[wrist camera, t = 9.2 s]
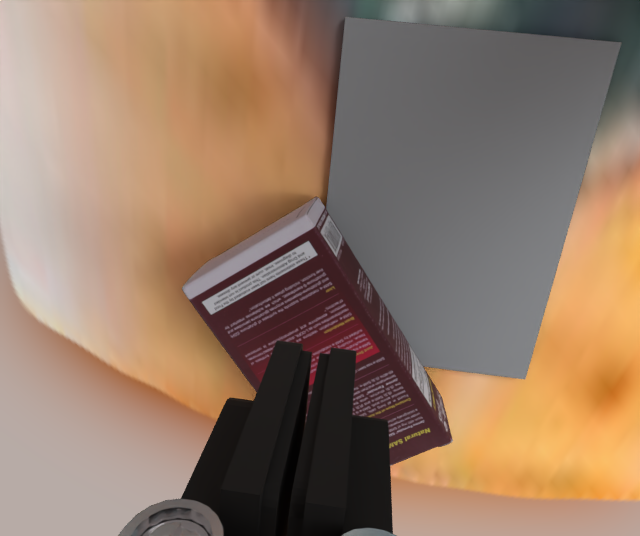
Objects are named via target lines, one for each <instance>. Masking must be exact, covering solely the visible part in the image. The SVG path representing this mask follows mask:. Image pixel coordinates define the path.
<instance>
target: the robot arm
mask: <svg viewBox="0 0 640 536" xmlns="http://www.w3.org/2000/svg"><path fill="white" fill-rule="evenodd" d="M356 352H357V351H355V350H347V349H339V348H332V347H331V350H330V354H324V353H320V355H319V360H318V365H317V369H316V374H315V379H314V384H313V389H312V394H311V399H310V404H309V409H308V414H307V419H306V413H307V402H308V392H309V381H310V371H311V360H312V352H309V351H303V344H301V343H294V342H286V341H279V340H277V341H276V344H275V346H274V349H273V352H272V354H271V357H270V360H269V362H268V365H267V367H266V370H265V373H264V375H263V378H262V381H261V383H260V386H259V389H258V391H257V394H256V397H255V399H254V401H251V400H244V399H237V398H229V399H227V401H226V403H225V405H224V407H223V409H222V411H221V413H220V416H219V418H218V420H217V422H216V425H215V426H214V428H213V431H212V433H211V435H210V437H209V440H208V441H207V444H206V446H205V448H204V450H203V452H202V454H201V457H200V459H199V461H198V463H197V465H196V467H195V470H194V472H193V474H192V476H191V478H190V480H189V483H188V485H187V487H186V489H185V491H184V493H183V495H182V498H181V499H175V500H166V501H163V502H160V503H157V504H154V505H151V506H149V507H148V508H146V509H145V510H143V511H141V512H140V513H138V514H137V515H136V516H135V517H134V518H133V519H132V520H131V521H130V522H129V523H128V524H127V525H126V526H125V527H124V529H123V530H122V531H121V532H120V534H119V535H118V536H396V535H394V534H393V531H392V530H393V528H392V504H391V476H390V450H389V426H388V420H386V419H379V418H372V417H364V416H357V415H352V411H353V397H354V382H355V367H356Z"/></svg>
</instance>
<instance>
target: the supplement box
mask: <svg viewBox="0 0 640 536" xmlns="http://www.w3.org/2000/svg"><path fill="white" fill-rule="evenodd" d="M182 290H183V292H184V293H185V295H186V296H187V298H188V299H189V301H190V302H191V303H192V304H193V306H194V308H195V309H196V310H197V312H198V313H199V314H200V316H201V317H202V318H203V320H204V321H205V323H206V324H207V326H208V327H209V328H210V329H211V331H212V332H213V334H214V335H215V336H216V338H217V339H218V340H219V342H220V343H221V345H222V346H223V347H224V348H225V350H226V351H227V353H228V354H229V355H230V356H231V358H232V359H233V361H234V362H235V363H236V365H237V366H238V368H239V369H240V370H241V372H242V373H243V374H244V376H245V377H246V378H247V380H248V381H249V382H250V384H251V385H252V386H253V388H254V389H255V390H256V392H257V391H258V389H259V386H260V383H261V381H262V378H263V375H264V373H265V370H266V367H267V365H268V362H269V360H270V357H271V354H272V352H273V349H274V346H275V344H276V341H277V340H279V341H286V342H294V343H301V344H303V351H309V352H312V360H311V371H310V381H309V392H308V402H307V413H306V419H307V414H308V409H309V404H310V399H311V394H312V389H313V384H314V379H315V374H316V369H317V365H318V360H319V355H320V353H324V354H330V350H331V347H332V348H339V349H347V350H355V351H357V352H356V367H355V382H354V397H353V411H352V415H357V416H364V417H372V418H379V419H386V420H388V426H389V450H390V466H391V465H393V464H396V463H398V462H400V461H403V460H406V459H408V458H410V457H413V456H415V455H418V454H420V453H422V452H425V451H427V450H430V449H432V448H435V447H442V446H445V445H447V444H450V443H451V442H452V441H453V440H452V436H451V433H450V428H449V424H448V420H447V416H446V412H445V408H444V404H443V400H442V397H441V395H440V393H439V392H438V390H437V388H436V387H435V385H434V384H433V382H432V380H431V379H430V377H429V375H428V374H427V372H426V371H425V369H424V367H423V366H422V364H421V363H420V361H419V359H418V358H417V356H416V354H415V353H414V351H413V349H412V348H411V346H410V345H409V343H408V341H407V340H406V338H405V336H404V334H403V333H402V331H401V330H400V328H399V327H398V325H397V323H396V322H395V320H394V319H393V317H392V315H391V314H390V312H389V310H388V309H387V307H386V306H385V304H384V302H383V301H382V299H381V298H380V296H379V294H378V293H377V291H376V289H375V288H374V286H373V284H372V283H371V281H370V280H369V278H368V276H367V275H366V273H365V272H364V270H363V268H362V267H361V265H360V263H359V262H358V260H357V259H356V257H355V255H354V254H353V252H352V250H351V249H350V247H349V246H348V244H347V242H346V241H345V239H344V237H343V236H342V234H341V232H340V231H339V229H338V228H337V226H336V224H335V223H334V221H333V219H332V218H331V216H330V215H329V213H328V211H327V210H326V208H325V206H324V205H323V203H322V202H321V200H320V199H319V198H318V197H315V198H313V199H312V200H310V201H308V202H307V203H306V204H304V205H303V206H301V207H299V208H297V209H296V210H294V211H292V212H291V213H289V214H287V215H286V216H284V217H282V218H281V219H279V220H277V221H275V222H274V223H272V224H270V225H269V226H267V227H265V228H264V229H262V230H260V231H259V232H257V233H255V234H254V235H252V236H250V237H249V238H247V239H245V240H244V241H242V242H240V243H239V244H237V245H235V246H234V247H232V248H230V249H229V250H227V251H225V252H224V253H222V254H220V255H219V256H217V257H214V258H212V259H211V260H209V261H207V262H206V263H205V264H204V265H203V266H202V267H201V268H200V269H199V270H197V271H196V272H195V273H194V274H193V275H192V276H191V277H190V278H189V280H188V281H187V282H186V283H185V284H184V286H183V287H182Z"/></svg>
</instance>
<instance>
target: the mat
mask: <svg viewBox="0 0 640 536" xmlns="http://www.w3.org/2000/svg"><path fill="white" fill-rule="evenodd" d="M621 43H622V42H611V41H600V40H589V39H579V38H568V37H557V36H546V35H536V34H525V33H514V32H503V31H493V30H482V29H471V28H460V27H449V26H439V25H428V24H417V23H406V22H396V21H385V20H374V19H363V18H353V17H345V25H344V35H343V45H342V55H341V65H340V75H339V85H338V95H337V105H336V115H335V125H334V135H333V145H332V155H331V165H330V175H329V185H328V195H327V205H326V210H327V211H328V213H329V215H330V216H331V218H332V219H333V221H334V223H335V224H336V226H337V228H338V229H339V231H340V232H341V234H342V236H343V237H344V239H345V241H346V242H347V244H348V246H349V247H350V249H351V250H352V252H353V254H354V255H355V257H356V259H357V260H358V262H359V263H360V265H361V267H362V268H363V270H364V272H365V273H366V275H367V276H368V278H369V280H370V281H371V283H372V284H373V286H374V288H375V289H376V291H377V293H378V294H379V296H380V298H381V299H382V301H383V302H384V304H385V306H386V307H387V309H388V310H389V312H390V314H391V315H392V317H393V319H394V320H395V322H396V323H397V325H398V327H399V328H400V330H401V331H402V333H403V334H404V336H405V338H406V340H407V341H408V343H409V345H410V346H411V348H412V349H413V351H414V353H415V354H416V356H417V358H418V359H419V361H420V363H421V364H422V366H423V367H431V368H439V369H447V370H455V371H463V372H471V373H479V374H487V375H495V376H503V377H510V378H518V379H525V378H526V375H527V371H528V368H529V364H530V361H531V357H532V354H533V350H534V347H535V343H536V340H537V336H538V333H539V329H540V326H541V322H542V319H543V315H544V312H545V308H546V305H547V301H548V298H549V294H550V291H551V287H552V284H553V280H554V277H555V273H556V270H557V266H558V263H559V259H560V256H561V252H562V249H563V245H564V242H565V238H566V235H567V232H568V228H569V225H570V221H571V218H572V214H573V211H574V207H575V204H576V200H577V197H578V193H579V190H580V186H581V183H582V179H583V176H584V172H585V169H586V165H587V162H588V158H589V155H590V151H591V148H592V144H593V141H594V137H595V134H596V130H597V127H598V123H599V120H600V116H601V113H602V109H603V106H604V102H605V99H606V95H607V92H608V88H609V85H610V81H611V78H612V74H613V71H614V67H615V64H616V60H617V57H618V53H619V50H620V46H621Z"/></svg>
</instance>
